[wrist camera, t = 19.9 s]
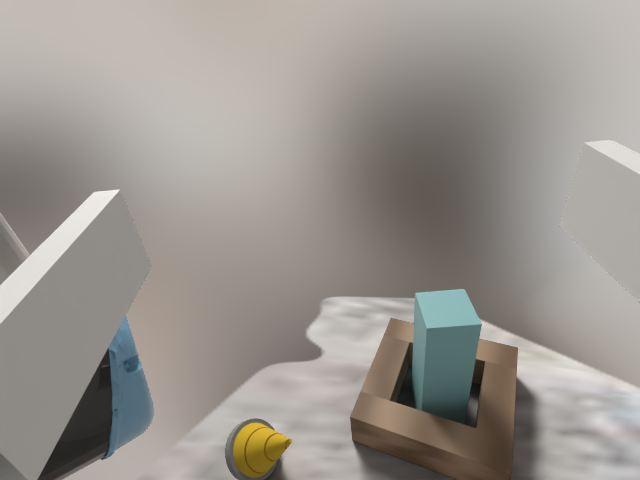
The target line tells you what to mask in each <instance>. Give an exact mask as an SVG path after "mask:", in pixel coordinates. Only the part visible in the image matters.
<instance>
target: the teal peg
mask: <svg viewBox="0 0 640 480" xmlns="http://www.w3.org/2000/svg"><path fill="white" fill-rule="evenodd" d="M481 325H482V324H481V322H480V320H479V318H478V316H477V314H476V312H475V310H474V308H473V306H472V304H471V302H470V300H469V298H468V295H467V293H466V291H465V289H458V290H445V291H433V292H422V293H415V312H414V336H413V360H412V384H411V389H412V393H413V397H414V401H415V406H416V409H417V410H420V411H424V412H427V413H430V414H433V415H436V416H439V417H442V418H445V419H448V420H452V421H455V422H458V423H465V418H466V412H467V407H468V401H469V395H470V389H471V383H472V377H473V372H474V366H475V360H476V354H477V348H478V342H479V337H480V331H481Z"/></svg>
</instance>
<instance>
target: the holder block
mask: <svg viewBox="0 0 640 480" xmlns="http://www.w3.org/2000/svg"><path fill="white" fill-rule="evenodd" d="M413 336H414V323H410V322H406V321H402V320H398V319H393V318H391V319H390V322H389V324H388V327H387V329H386V331H385V334H384V336H383V339H382V341H381V344H380V346H379V348H378V351H377V353H376V356H375V358H374V360H373V363H372V365H371V368H370V370H369V373H368V375H367V377H366V380H365V382H364V385H363V387H362V390H361V392H360V394H359V397H358V399H357V402H356V404H355V407H354V409H353V411H352V414H351V416H350V420H351V430H352V440H353V441H355V442H358V443H361V444H363V445H366V446H369V447H371V448H374V449H377V450H379V451H382V452H385V453H387V454H390V455H393V456H395V457H398V458H400V459H403V460H406V461H408V462H411V463H414V464H416V465H419V466H422V467H424V468H427V469H430V470H432V471H435V472H438V473H440V474H443V475H446V476H448V477H451V478H453V479H456V480H510V477H511V474H512V455H513V435H514V415H515V395H516V376H517V356H518V348H517V347H513V346H509V345H504V344H500V343H496V342H492V341H487V340H483V339H479V342H478V348H477V354H476V360H475V366H474V372H473V377H472V383H474V384H478V385H481V386H480V394H479V401H478V409H477V416H476V423H475V428H473V427H470V426H467V425H464V424H461V423H458V422H455V421H452V420H448V419H445V418H442V417H439V416H436V415H433V414H430V413H427V412H424V411H420V410H417V409H414V408H411V407H408V406H405V405H402V404H399V403H397V400H398V397H399V394H400V391H401V388H402V385H403V382H404V378H405V375H406V372H407V369H408V366H412V360H413Z"/></svg>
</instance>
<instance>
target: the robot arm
mask: <svg viewBox="0 0 640 480" xmlns="http://www.w3.org/2000/svg"><path fill="white" fill-rule="evenodd" d="M559 227H560V228H561V229H562V230H563V231H565V232H566V233H567V234H568V235H569V236H570V237H571V238H572V239H573V240H574V241H575V242H576V243H577V244H578V245H579V246H580V247H582V248H583V249H584V250H585V251H586V252H587V253H588V254H589V255H590V256H591V257H592V258H593V259H594V260H595V261H596V262H597V263H598V264H600V265H601V266H602V267H603V268H604V269H605V270H606V271H607V272H608V273H609V274H610V275H611V276H612V277H613V278H614V279H615V280H616V281H618V282H619V283H620V284H621V285H622V286H623V287H624V288H625V289H626V290H627V291H628V292H629V293H630V294H631V295H632V296H633V297H635V298H636V299H637V300H638V301H639V302H640V154H638V153H636V152H634V151H632V150H630V149H628V148H626V147H624V146H622V145H621V144H618V143H616V142H615V141H613V140H605V141H595V142H585V143H583V146H582V150H581V153H580V157H579V160H578V164H577V167H576V171H575V175H574V178H573V181H572V184H571V188H570V192H569V195H568V198H567V202H566V205H565V209H564V212H563V216H562V220H561V223H560V226H559ZM151 267H152V265H151V262H150V260H149V257H148V255H147V253H146V250H145V248H144V245H143V243H142V241H141V238H140V236H139V233H138V231H137V229H136V226H135V224H134V221H133V219H132V216H131V214H130V212H129V209H128V207H127V204H126V202H125V199H124V197H123V195H122V192H121V190H111V191H101V192H94V193H93V194H92V195H91V196H90V197H89V198H88V199H87V200H86V201H85V202H84V203H83V204H82V205H81V206H80V207H79V208H78V209H77V210H76V211H75V212H74V213H73V214H72V215H71V216H70V217H69V218H67V219H66V220H65V222H63V223H62V224H61V225H60V226H59V228H57V229H56V230H55V231H54V232H53V233H52V234H51V235H50V236H49V238H47V239H46V241H44V242H43V243H42V244H41V245H40V246H39V247H38V248H37V249H36V250H35V251H34V252H33V253H32V254H31V255H29V253H28V252H27V250H26V249H25V248H24V246H23V245H22V243H21V242H20V240H19V239H18V237H17V236H16V235H15V233H14V232H13V230H12V229H11V227H10V226H9V224H8V223H7V222H6V220H5V219H4V217H3V216H2V215H1V213H0V480H62V479H64V478H66V477H68V476H69V475H71V474H73V473H75V472H77V471H78V470H80V469H82V468H84V467H86V466H88V465H90V464H91V463H93V462H95V461H97V460H99V459H102V460H103V459H106V458H108V457H110V456H111V455H112V454H113V453H114V451H115V450H116V449H118V448H120V447H121V446H123V445H125V444H126V443H128V442H130V441H131V440H133V439H134V438H136V437H138V436H139V435H141V434H142V433H143V432H144V431H146V429H147V428H148V427H149V425H150V424H151V422H152V419H153V415H154V407H153V402H152V398H151V395H150V391H149V388H148V384H147V381H146V378H145V375H144V372H143V369H142V365H141V363H140V360H139V357H138V353H137V350H136V346H135V343H134V339H133V336H132V333H131V329H130V326H129V323H128V320H127V317H126V314H127V311H128V310H129V308H130V306H131V304H132V303H133V300H134V299H135V297H136V295H137V293H138V291H139V290H140V288H141V286H142V284H143V282H144V280H145V278H146V276H147V275H148V273H149V271H150V269H151Z"/></svg>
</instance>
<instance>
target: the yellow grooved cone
mask: <svg viewBox="0 0 640 480" xmlns="http://www.w3.org/2000/svg"><path fill="white" fill-rule="evenodd" d="M291 442H292V440H291V439H289V438H287V437H285V436H284V435H282V434H280V433H278V432H276V431H275V430H274V428H273V427H272V426H271V425H270V424H269V423H267V422H266V421H264V420H262V419H250V420H247V421H244V422H242V423H240V424H238V425H237V426H236V427H235V428H234V429H233V430H232V432H231V433H230V435H229V437H228V440H227V443H226V448H225V458H226V463H227V466H228V468H229V470H230V472H231V473H232V475H233V476H234V477H235V478H237V479H238V480H264V479H266V478H267V477H268V476H270V474H271V473H272V472H273V471H274V469H275V467H276V465H277V463H278V460H279V457H280V456H281V455H282V454H283V452H284V451H285V450H286V449H287V447H288V446H289V445H290V444H291Z"/></svg>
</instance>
